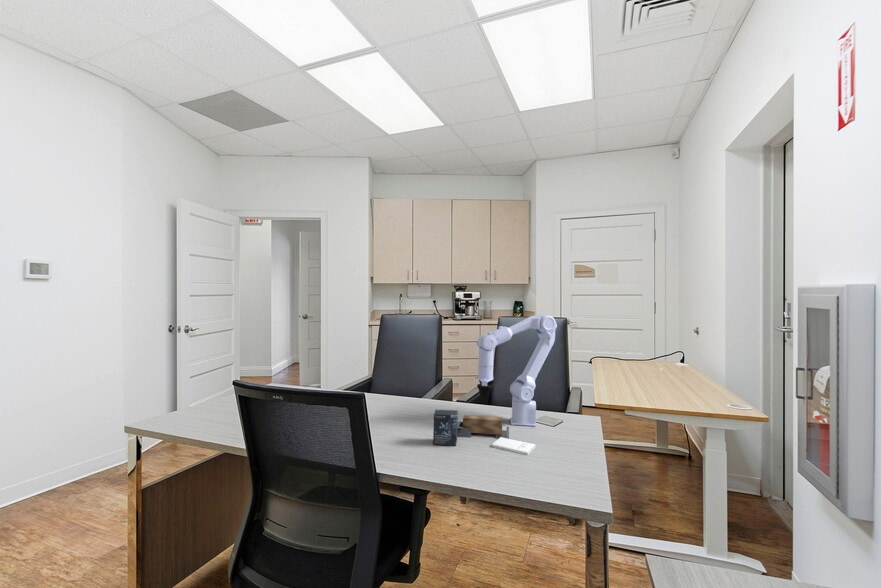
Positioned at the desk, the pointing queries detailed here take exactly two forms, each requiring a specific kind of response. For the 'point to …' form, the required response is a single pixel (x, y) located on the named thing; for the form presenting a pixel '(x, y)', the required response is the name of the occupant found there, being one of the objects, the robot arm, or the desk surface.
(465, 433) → the bracket
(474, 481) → the desk surface
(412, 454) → the desk surface
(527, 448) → the external hard drive
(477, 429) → the wooden block
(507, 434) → the ledge bracket
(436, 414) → the box
